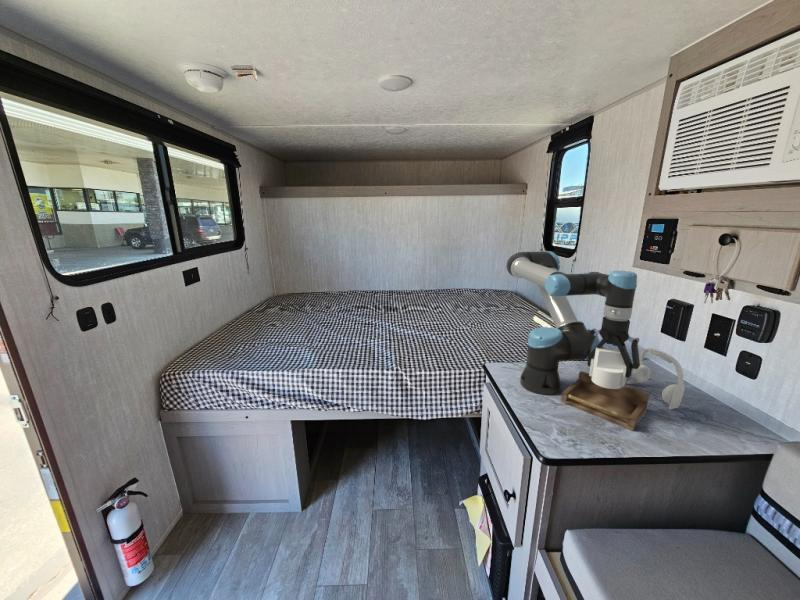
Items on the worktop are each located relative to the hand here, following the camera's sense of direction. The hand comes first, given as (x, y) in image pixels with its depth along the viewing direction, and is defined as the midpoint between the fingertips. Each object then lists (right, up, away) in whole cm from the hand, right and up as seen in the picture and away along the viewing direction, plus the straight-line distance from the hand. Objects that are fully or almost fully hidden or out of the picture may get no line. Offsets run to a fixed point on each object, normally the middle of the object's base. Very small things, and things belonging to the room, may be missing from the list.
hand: (606, 379), depth 109 cm
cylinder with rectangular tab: (0, -1, 0) cm, 1 cm away
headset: (+24, -9, +9) cm, 27 cm away
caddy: (+1, -10, +3) cm, 11 cm away
